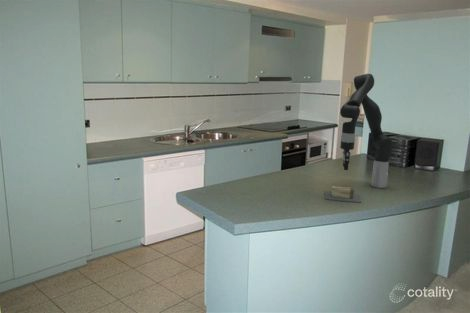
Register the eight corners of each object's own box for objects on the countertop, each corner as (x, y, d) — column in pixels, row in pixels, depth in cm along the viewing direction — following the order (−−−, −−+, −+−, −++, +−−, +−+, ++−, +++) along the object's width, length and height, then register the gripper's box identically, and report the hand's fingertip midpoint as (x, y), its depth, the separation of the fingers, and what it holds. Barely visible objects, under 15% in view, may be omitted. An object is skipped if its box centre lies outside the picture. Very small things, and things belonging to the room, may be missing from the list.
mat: (358, 195, 243) (358, 194, 243) (361, 203, 229) (361, 202, 229) (324, 192, 247) (324, 191, 247) (325, 199, 233) (325, 198, 233)
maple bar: (331, 194, 241) (332, 186, 240) (352, 196, 239) (353, 188, 238) (331, 196, 237) (332, 188, 236) (353, 198, 235) (353, 190, 234)
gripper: (340, 138, 238) (338, 165, 242) (341, 142, 225) (339, 170, 228) (353, 138, 237) (350, 165, 240) (355, 143, 223) (353, 171, 227)
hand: (345, 168), depth 234 cm, fingers open, 8 cm apart
